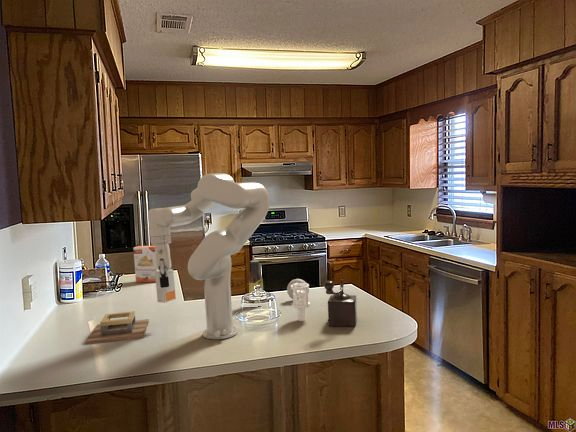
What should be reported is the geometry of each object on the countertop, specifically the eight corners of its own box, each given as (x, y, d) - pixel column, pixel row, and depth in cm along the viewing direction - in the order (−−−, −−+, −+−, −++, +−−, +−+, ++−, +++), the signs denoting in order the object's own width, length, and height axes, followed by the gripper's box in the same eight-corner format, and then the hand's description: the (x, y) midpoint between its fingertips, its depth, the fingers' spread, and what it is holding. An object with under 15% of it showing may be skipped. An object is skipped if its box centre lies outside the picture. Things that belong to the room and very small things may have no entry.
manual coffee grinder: (329, 318, 184) (327, 273, 183) (357, 318, 182) (355, 272, 181) (324, 331, 169) (322, 282, 168) (355, 331, 167) (353, 282, 166)
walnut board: (143, 337, 173) (143, 334, 173) (85, 344, 169) (85, 340, 169) (148, 321, 193) (148, 319, 193) (97, 327, 189) (97, 324, 189)
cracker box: (135, 283, 272) (132, 247, 270) (140, 280, 278) (137, 245, 276) (158, 282, 269) (155, 246, 268) (162, 280, 275) (159, 245, 274)
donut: (309, 299, 215) (308, 277, 214) (309, 301, 211) (308, 279, 211) (287, 299, 216) (286, 278, 215) (287, 301, 212) (286, 280, 211)
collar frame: (132, 332, 176) (130, 319, 176) (101, 335, 174) (100, 322, 174) (135, 323, 187) (134, 311, 187) (106, 326, 185) (105, 314, 185)
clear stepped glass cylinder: (289, 320, 184) (286, 283, 183) (300, 316, 189) (298, 279, 188) (302, 323, 179) (300, 285, 178) (314, 319, 184) (312, 281, 183)
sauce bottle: (262, 306, 206) (259, 262, 204) (248, 306, 207) (245, 262, 206) (265, 302, 212) (263, 259, 211) (252, 302, 214) (249, 259, 212)
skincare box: (165, 303, 179) (162, 272, 178) (157, 302, 182) (154, 272, 181) (176, 299, 184) (173, 269, 184) (169, 298, 187) (166, 269, 186)
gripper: (169, 241, 174) (174, 288, 175) (172, 237, 191) (176, 280, 192) (148, 243, 172) (153, 291, 173) (153, 238, 189) (157, 282, 190)
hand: (165, 284), depth 183 cm, fingers closed on skincare box, 7 cm apart
